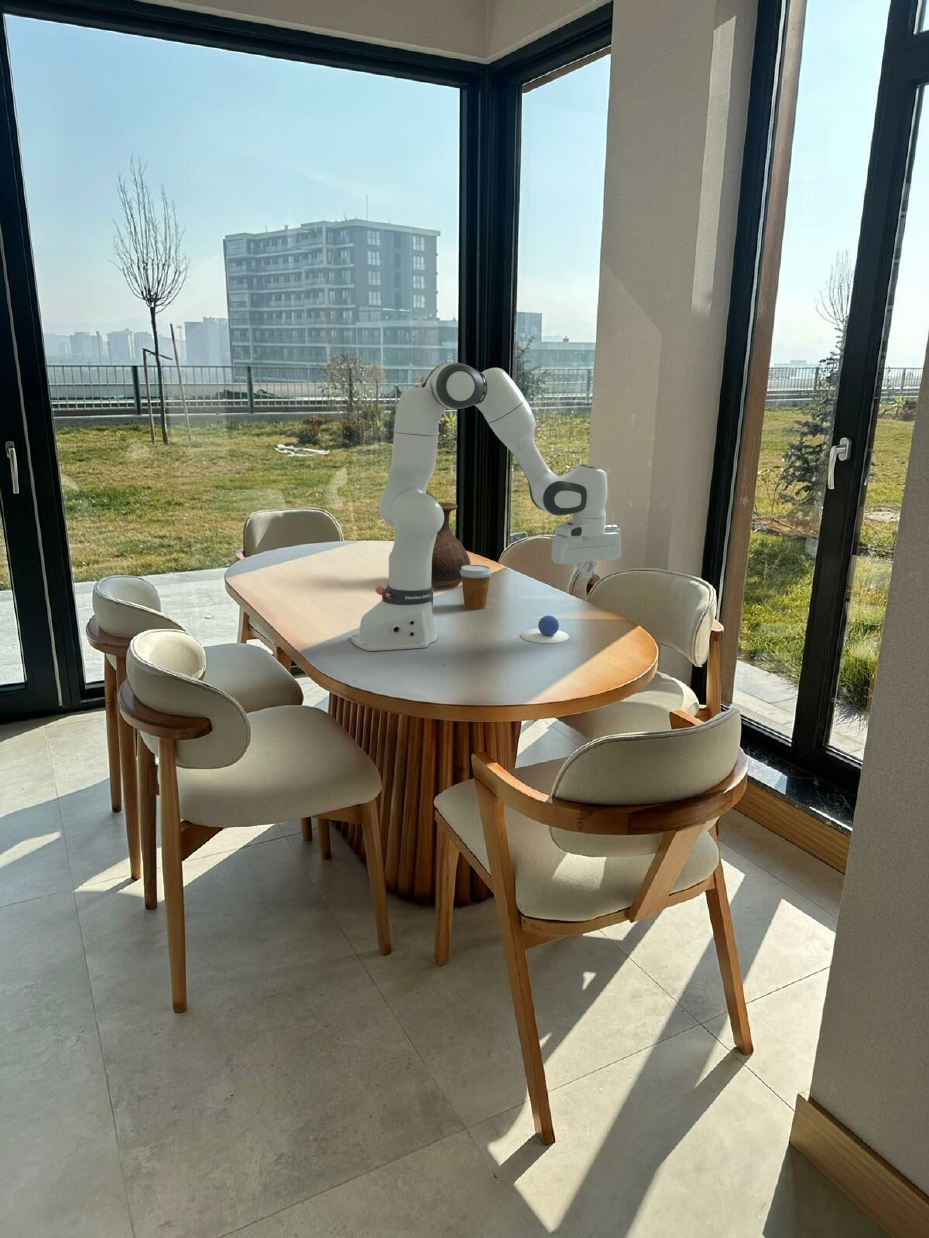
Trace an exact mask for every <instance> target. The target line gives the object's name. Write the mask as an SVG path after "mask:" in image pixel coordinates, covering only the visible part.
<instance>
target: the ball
mask: <svg viewBox="0 0 929 1238" xmlns="http://www.w3.org/2000/svg"><path fill="white" fill-rule="evenodd" d="M537 626H538V628H537V629H539V631H540V632H541V633H542V634H543V635H545V636H552V635H554V634H555V633H556V632H557V631H559V629H560V628H559V627H560V625H559V620H557V618H556V617H555V616H553V615H545V616H543V617H541V618H540V619H539V621H538V625H537Z"/></svg>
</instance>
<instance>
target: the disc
mask: <svg viewBox="0 0 929 1238" xmlns="http://www.w3.org/2000/svg"><path fill="white" fill-rule="evenodd" d="M520 638H521V639H523V640H525V641H527V642H530V643H536V644H544V645H545V644H549V645H550V644H561V643H564V642H566V641H569V638H570V636H569V634H568V633H566V632H564V631H562V630H558V631H557V632H556V633H555V634H554V635H552V636H545V635H543V634H542V633H541V632H540V631H539V628H531V629H530V628H529V629H526V630H523V631H521V632H520Z"/></svg>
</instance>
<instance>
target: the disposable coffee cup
mask: <svg viewBox="0 0 929 1238" xmlns="http://www.w3.org/2000/svg"><path fill="white" fill-rule="evenodd" d="M460 573H461V577H462V582H461V584H462V585H461V586H462V595H463V596H462V597H463V605H464V608H466V609H468V610H481V609H485V608H486V605H487V599H488V592H489V586H490V578H491V575H492V573H493V572H492V569H491V567H490V566H488V565H484V564H483V565H482V564H471V565H465V566H462V567H461V570H460Z"/></svg>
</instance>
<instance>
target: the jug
mask: <svg viewBox="0 0 929 1238" xmlns="http://www.w3.org/2000/svg"><path fill="white" fill-rule="evenodd" d="M426 494H427V495H430V496H431V497H433V498H434V499H435V500H436V501H437V499H436V497H435V496H434V494H433V493H432V492H430V491H429V490H427V489H426ZM437 502H438V503H439V505H440V506H441V507H442V509H443V512H444V522H443V525H442V527H441V529H440V530H439V531H438V533H437V536H436V540H435V544H434V549H433V554H432V576H431V585H432V586H433V589H434V590H435V589H436V590H438V589H440V590H441V589H447V588H454V587H457V586H458V585H460V583H461V584H462V577H461V573H460V570H461V567H462V566H465V565H472V564H471V559H470V557H469V555H468V552H467V550H466V548H465V547H464V545H463V544H462V542H461V541H460V540H459V539H458V538H457V537H456V536H455V535H454V534H452V531H451V528H450V514H451V512H452V511H454V510H457V509H458V506H459V505H457V504H456V503H452V502H447V501H446V502H444V501H443V502H439V501H437Z"/></svg>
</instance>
